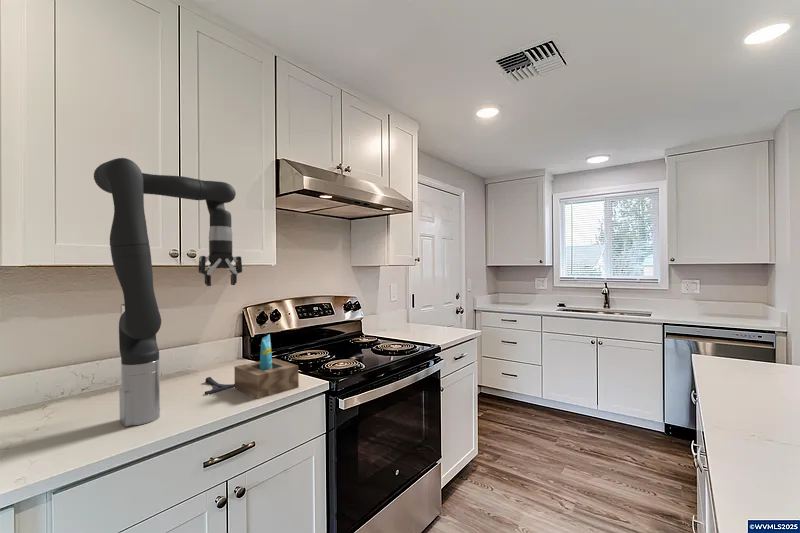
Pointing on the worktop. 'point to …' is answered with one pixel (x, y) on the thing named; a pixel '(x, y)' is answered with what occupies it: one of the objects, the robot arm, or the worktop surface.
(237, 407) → the worktop surface
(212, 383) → the bracket
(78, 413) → the worktop surface
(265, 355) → the tube
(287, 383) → the socket block
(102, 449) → the worktop surface
